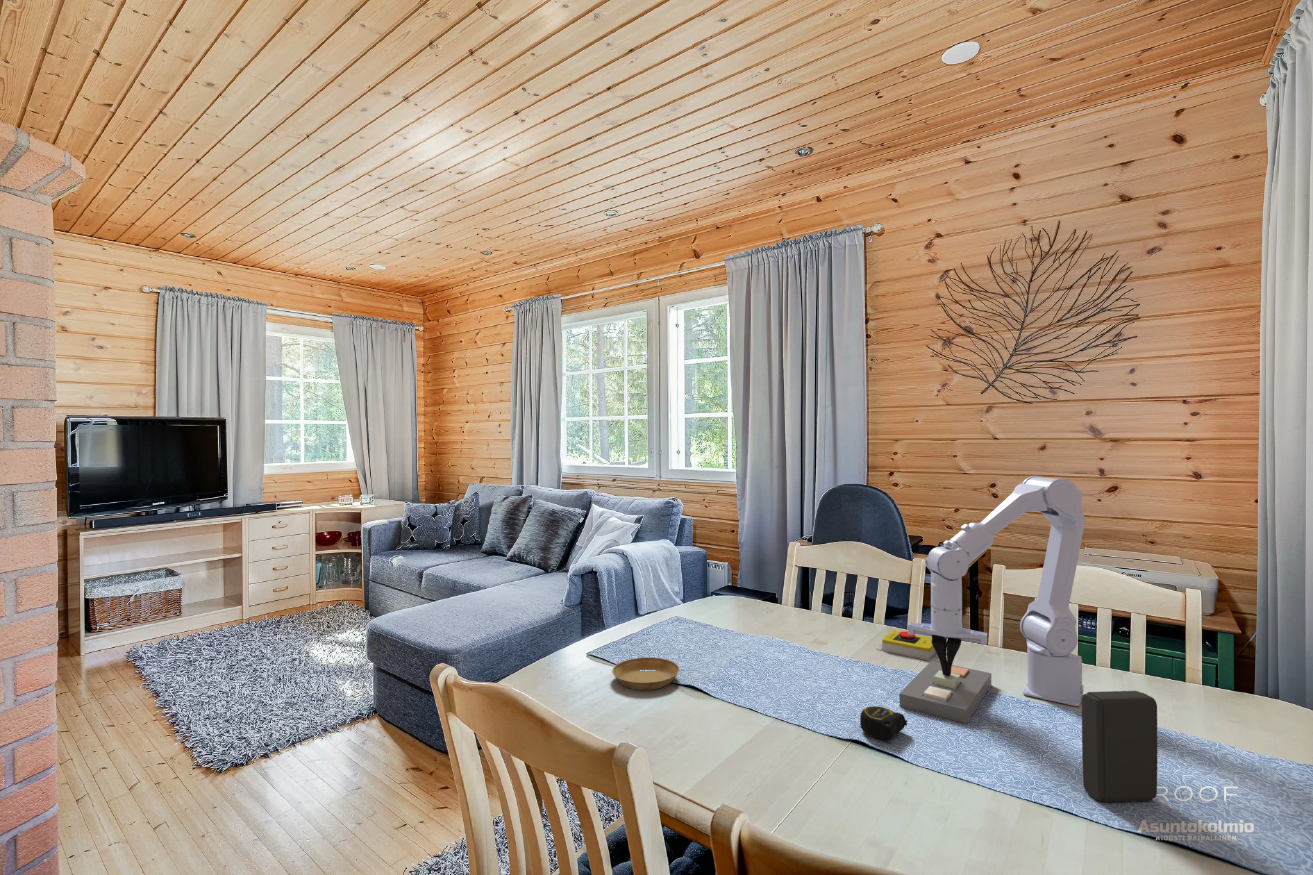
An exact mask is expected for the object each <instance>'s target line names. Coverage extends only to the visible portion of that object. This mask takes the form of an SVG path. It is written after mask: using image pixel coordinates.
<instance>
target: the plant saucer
mask: <svg viewBox="0 0 1313 875" xmlns="http://www.w3.org/2000/svg"><path fill="white" fill-rule="evenodd" d="M640 670H644V671H640ZM645 670H656V671H645ZM679 672H680V667H679V665H678V664H677V663H676V662H674V661H672V660H669V659H665V658H661V657H636V658H635V657H634V658H630V659H627V660H623V661H621V662H618V663H617V664H616V665H614V666H613V668H612V670H611V673H612V674H613V676H614V678H616V680H618V682H619V683H620V684H621V685H622V686H624V687H627V688H629V689H632V690H636V691H637V690H639V691H650V690H658V689H660V688H664V687H666V686H667V685H669V684H670V683H671V682H673V680H674V679H675V678H676V677H677V676H678V674H679Z"/></svg>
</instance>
